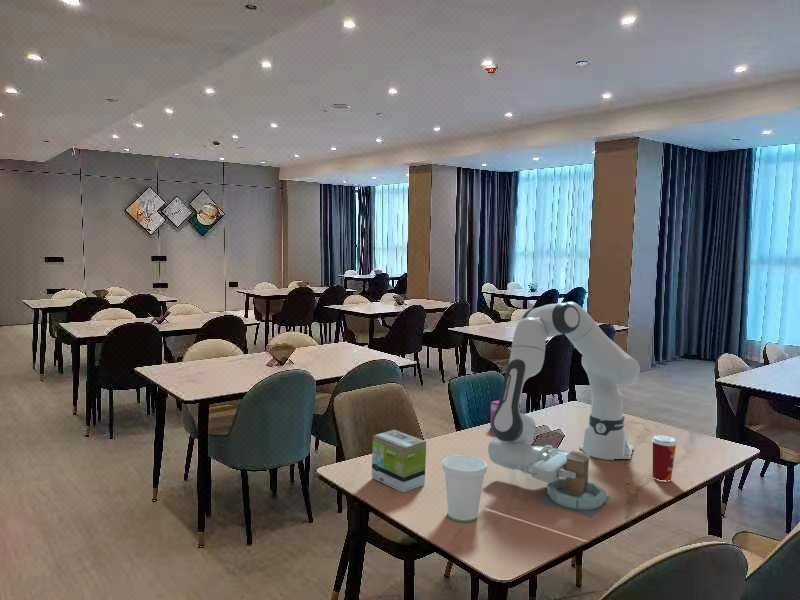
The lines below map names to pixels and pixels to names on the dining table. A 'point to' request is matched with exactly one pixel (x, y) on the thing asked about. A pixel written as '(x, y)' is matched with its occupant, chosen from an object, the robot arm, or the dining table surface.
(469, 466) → the cup
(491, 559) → the dining table surface
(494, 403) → the supplement box
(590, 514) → the place mat
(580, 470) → the lidded brown carton
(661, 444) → the paper cup
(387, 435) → the tea box
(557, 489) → the bowl
